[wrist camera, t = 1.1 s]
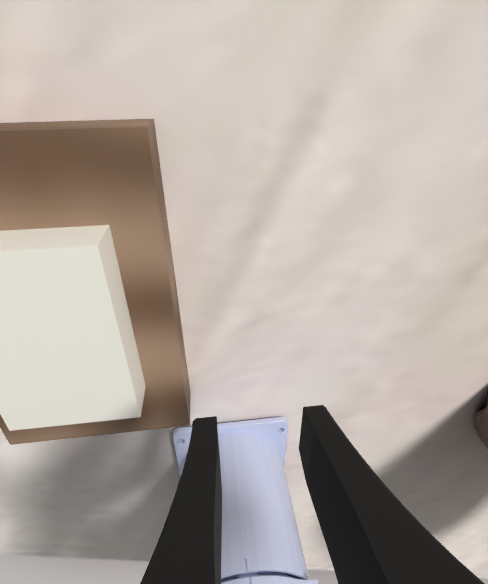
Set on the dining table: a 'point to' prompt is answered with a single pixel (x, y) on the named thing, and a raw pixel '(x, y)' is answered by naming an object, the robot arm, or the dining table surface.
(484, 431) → the plant pot
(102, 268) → the cream block
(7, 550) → the dining table surface
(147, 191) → the walnut board
